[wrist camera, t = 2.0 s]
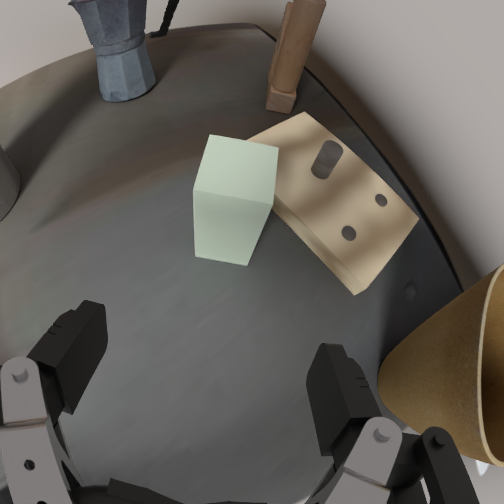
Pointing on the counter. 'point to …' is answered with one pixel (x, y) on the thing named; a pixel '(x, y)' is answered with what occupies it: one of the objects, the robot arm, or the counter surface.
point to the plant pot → (454, 372)
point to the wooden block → (292, 52)
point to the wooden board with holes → (335, 201)
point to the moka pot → (121, 44)
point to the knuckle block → (232, 198)
